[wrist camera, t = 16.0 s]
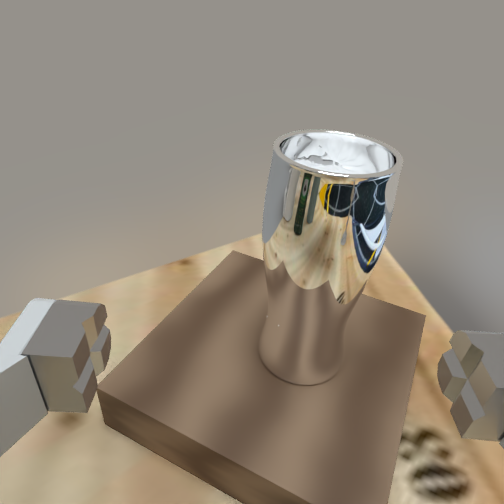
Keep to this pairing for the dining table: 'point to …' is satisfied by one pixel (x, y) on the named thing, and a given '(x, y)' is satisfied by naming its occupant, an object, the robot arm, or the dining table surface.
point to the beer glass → (321, 244)
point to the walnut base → (267, 397)
